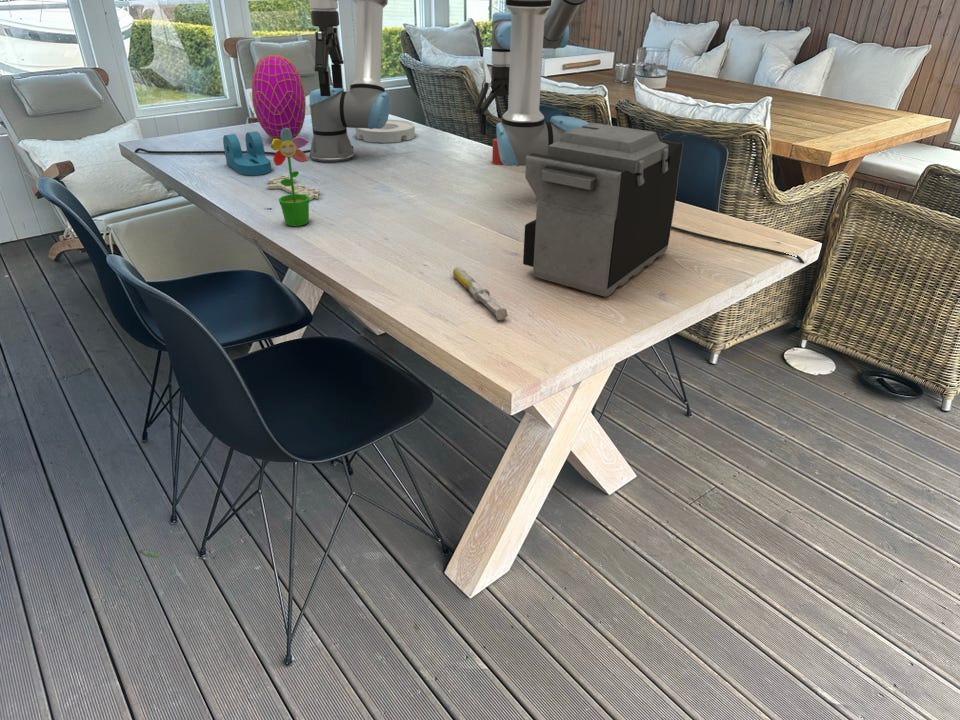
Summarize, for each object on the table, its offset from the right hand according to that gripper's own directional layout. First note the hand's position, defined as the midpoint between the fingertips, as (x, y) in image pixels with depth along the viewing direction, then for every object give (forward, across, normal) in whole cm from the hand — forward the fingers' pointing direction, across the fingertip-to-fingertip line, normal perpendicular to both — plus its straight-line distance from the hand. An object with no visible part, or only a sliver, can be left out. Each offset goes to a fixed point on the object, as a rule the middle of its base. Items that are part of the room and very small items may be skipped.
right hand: (501, 132), depth 234 cm
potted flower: (+11, +77, +36) cm, 86 cm away
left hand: (-17, +58, +7) cm, 61 cm away
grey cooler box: (+12, +18, +91) cm, 94 cm away
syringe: (+12, +51, +97) cm, 110 cm away
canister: (+10, 0, -1) cm, 10 cm away
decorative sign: (+11, +73, +6) cm, 74 cm away
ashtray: (+9, +25, -54) cm, 60 cm away
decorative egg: (+9, +64, -61) cm, 89 cm away
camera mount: (+10, +81, -24) cm, 85 cm away
